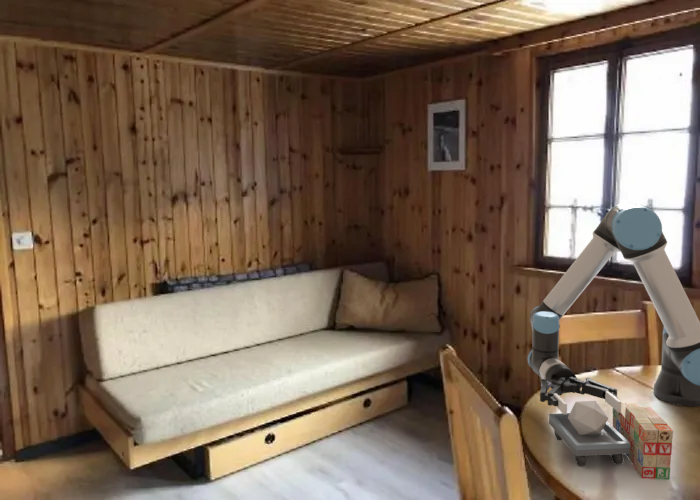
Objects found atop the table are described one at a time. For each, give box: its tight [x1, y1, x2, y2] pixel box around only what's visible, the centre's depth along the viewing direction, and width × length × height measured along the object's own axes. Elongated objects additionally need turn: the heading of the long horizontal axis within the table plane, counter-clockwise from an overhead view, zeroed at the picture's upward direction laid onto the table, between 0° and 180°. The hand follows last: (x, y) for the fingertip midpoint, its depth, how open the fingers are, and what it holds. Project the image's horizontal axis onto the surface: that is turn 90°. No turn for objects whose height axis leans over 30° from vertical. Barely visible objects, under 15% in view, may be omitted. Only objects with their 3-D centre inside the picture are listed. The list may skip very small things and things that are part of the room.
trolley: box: [548, 412, 630, 467], centre depth 141 cm, size 13×17×6 cm
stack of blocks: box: [612, 402, 674, 480], centre depth 137 cm, size 21×6×12 cm, turn 172°
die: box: [568, 400, 609, 436], centre depth 140 cm, size 8×9×10 cm
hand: (592, 408), depth 137 cm, fingers open, 13 cm apart
